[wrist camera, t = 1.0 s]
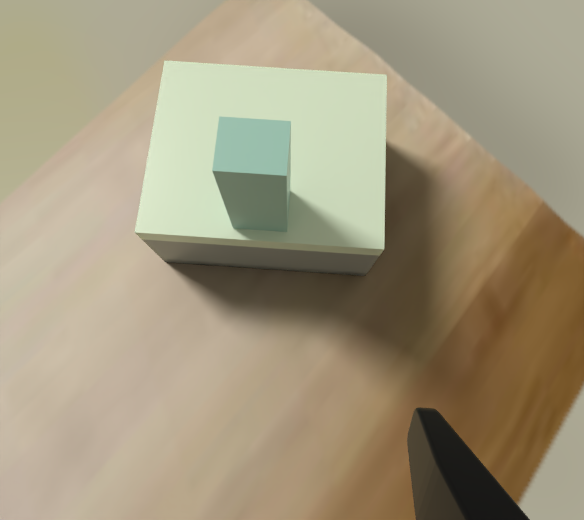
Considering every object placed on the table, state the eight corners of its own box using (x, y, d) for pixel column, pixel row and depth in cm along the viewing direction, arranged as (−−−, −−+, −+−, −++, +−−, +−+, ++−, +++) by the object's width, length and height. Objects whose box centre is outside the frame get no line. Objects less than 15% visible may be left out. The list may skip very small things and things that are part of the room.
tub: (365, 275, 24) (379, 255, 20) (165, 261, 24) (142, 239, 20) (368, 130, 26) (382, 87, 23) (187, 118, 27) (169, 74, 23)
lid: (379, 255, 20) (420, 199, 14) (142, 239, 20) (76, 176, 14) (382, 87, 23) (418, -25, 16) (169, 74, 23) (124, -43, 16)
